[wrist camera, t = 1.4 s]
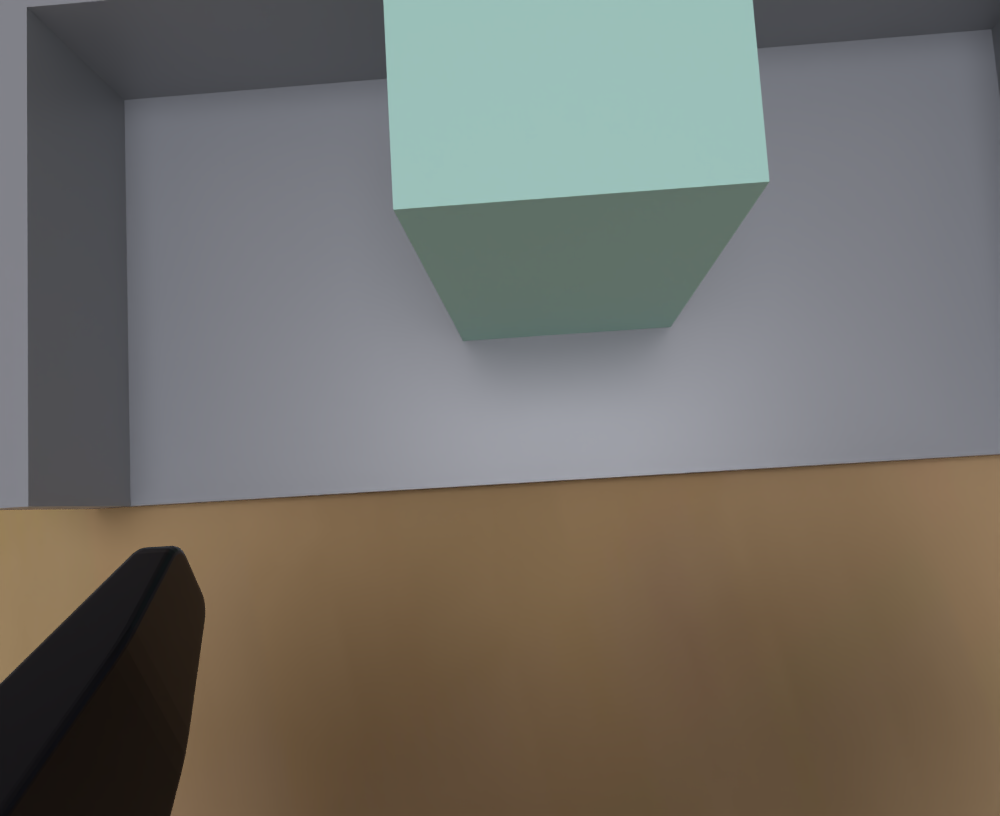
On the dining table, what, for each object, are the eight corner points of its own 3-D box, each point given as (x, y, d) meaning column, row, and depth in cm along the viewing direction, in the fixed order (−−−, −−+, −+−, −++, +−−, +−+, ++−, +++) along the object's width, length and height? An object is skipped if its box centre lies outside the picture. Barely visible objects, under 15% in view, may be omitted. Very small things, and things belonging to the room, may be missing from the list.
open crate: (1081, 449, 22) (1238, 433, 17) (94, 508, 23) (-32, 510, 18) (1023, -8, 23) (1153, -149, 18) (89, 69, 24) (-30, -43, 19)
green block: (670, 327, 22) (769, 181, 12) (463, 341, 22) (393, 209, 12) (654, 127, 23) (737, -171, 13) (452, 143, 23) (376, -137, 13)
